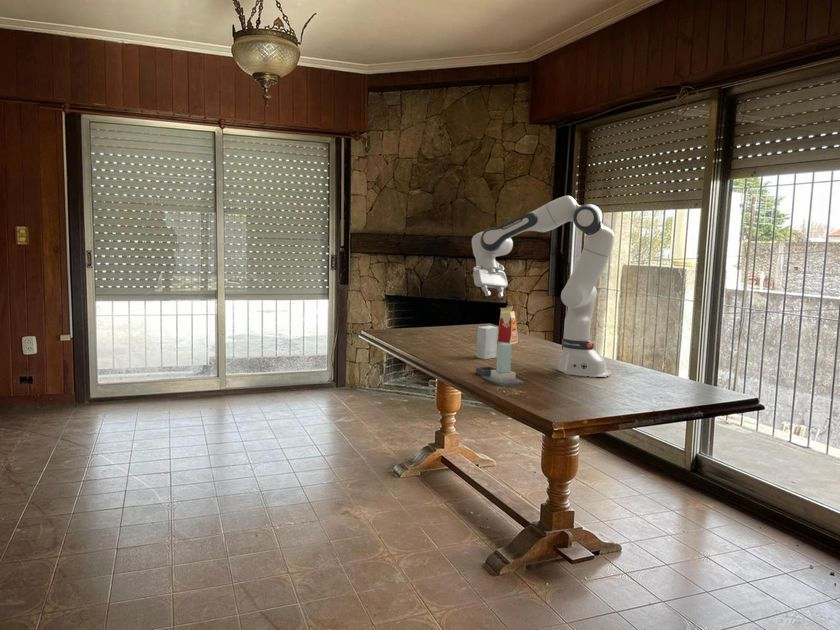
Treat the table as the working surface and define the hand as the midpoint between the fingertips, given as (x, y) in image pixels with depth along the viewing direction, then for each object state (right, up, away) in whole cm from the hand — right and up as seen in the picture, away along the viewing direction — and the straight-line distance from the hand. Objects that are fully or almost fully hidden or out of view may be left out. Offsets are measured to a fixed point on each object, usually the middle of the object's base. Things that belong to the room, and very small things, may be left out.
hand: (494, 296), depth 281 cm
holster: (-5, -33, -16) cm, 37 cm away
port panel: (0, -35, -27) cm, 44 cm away
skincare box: (-2, -29, +20) cm, 35 cm away
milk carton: (+14, -23, +63) cm, 69 cm away
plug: (0, -34, -27) cm, 43 cm away
